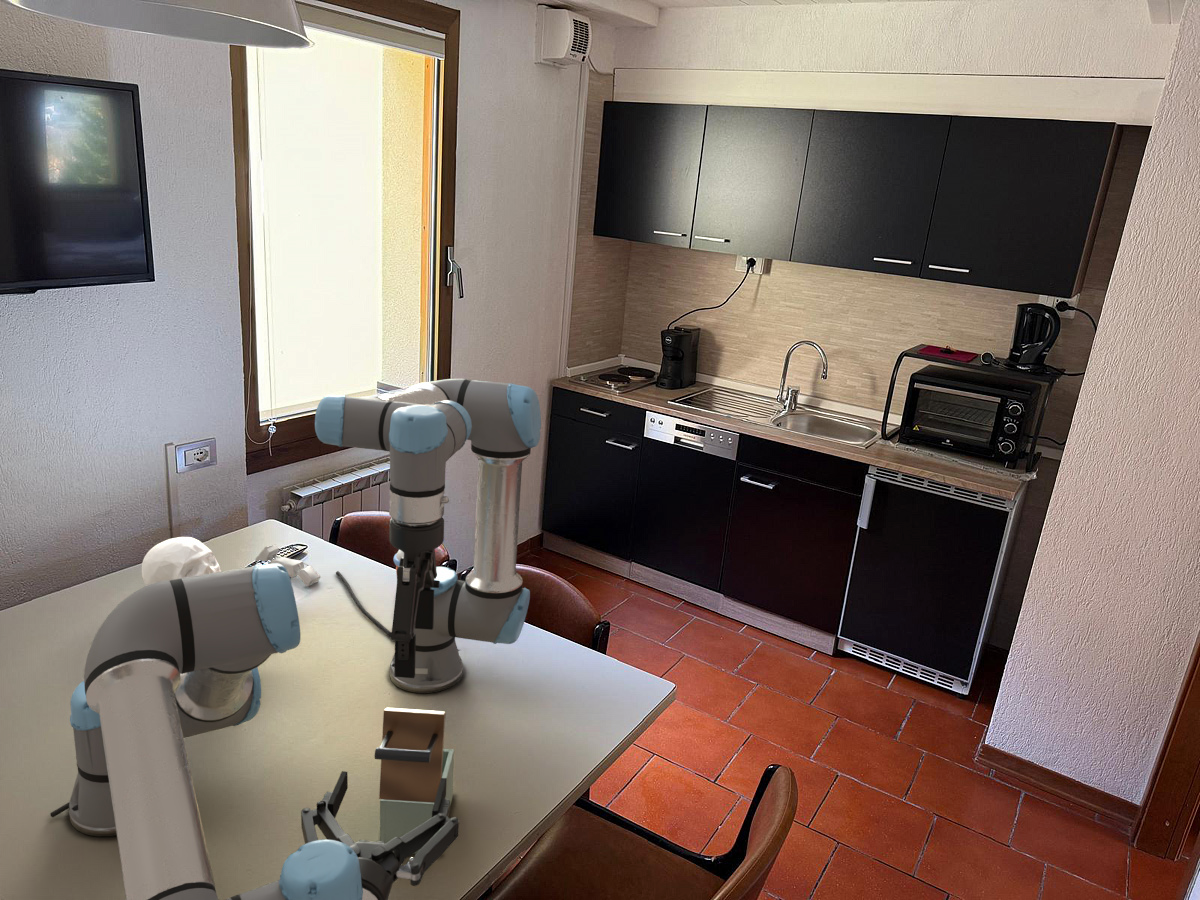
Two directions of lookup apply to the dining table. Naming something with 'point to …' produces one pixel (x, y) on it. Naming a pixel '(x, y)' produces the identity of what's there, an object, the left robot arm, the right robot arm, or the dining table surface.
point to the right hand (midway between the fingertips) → (415, 651)
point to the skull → (178, 560)
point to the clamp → (290, 565)
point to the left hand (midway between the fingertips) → (394, 782)
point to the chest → (412, 807)
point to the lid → (411, 754)
